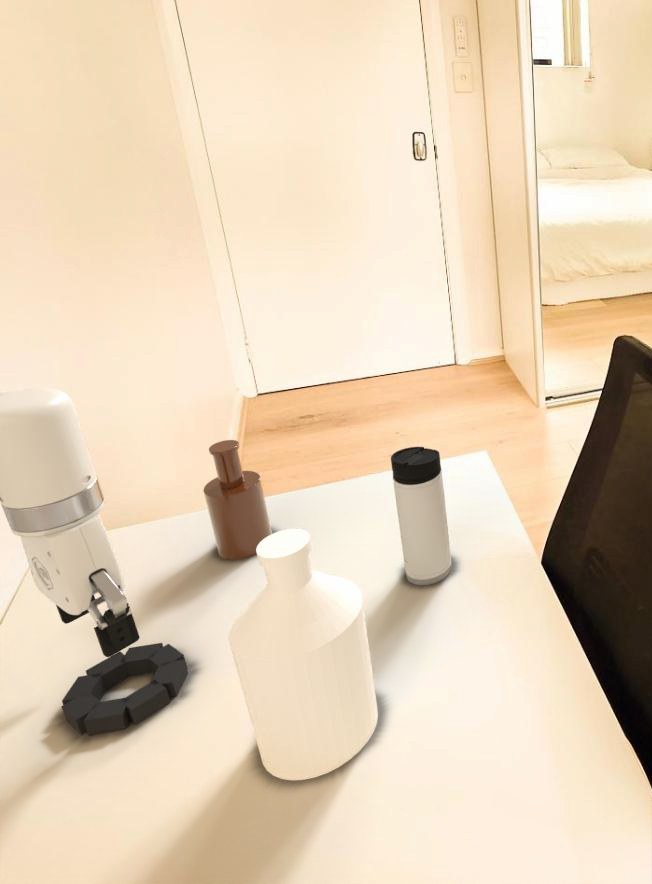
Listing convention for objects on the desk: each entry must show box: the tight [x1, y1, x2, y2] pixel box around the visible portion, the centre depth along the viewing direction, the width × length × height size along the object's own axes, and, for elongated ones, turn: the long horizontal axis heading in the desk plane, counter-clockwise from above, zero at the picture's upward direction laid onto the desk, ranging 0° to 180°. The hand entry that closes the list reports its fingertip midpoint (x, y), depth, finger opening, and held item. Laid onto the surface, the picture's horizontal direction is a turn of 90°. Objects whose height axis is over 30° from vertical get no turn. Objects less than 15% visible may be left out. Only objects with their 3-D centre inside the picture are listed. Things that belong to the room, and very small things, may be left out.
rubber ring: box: [61, 642, 189, 737], centre depth 79 cm, size 10×10×2 cm
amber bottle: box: [203, 439, 273, 561], centre depth 101 cm, size 7×7×17 cm
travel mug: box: [390, 446, 453, 586], centre depth 97 cm, size 6×7×20 cm
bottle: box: [228, 528, 379, 781], centre depth 71 cm, size 12×12×25 cm
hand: (101, 631), depth 78 cm, fingers open, 9 cm apart
